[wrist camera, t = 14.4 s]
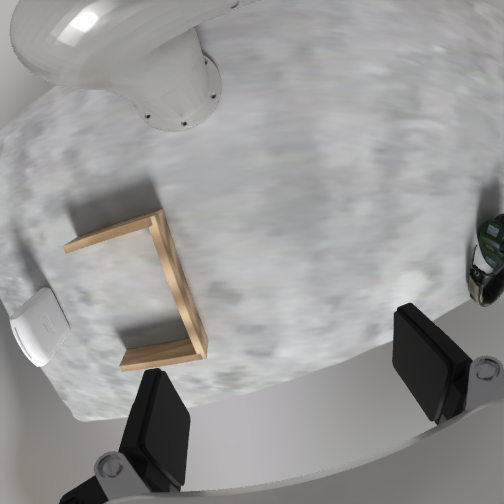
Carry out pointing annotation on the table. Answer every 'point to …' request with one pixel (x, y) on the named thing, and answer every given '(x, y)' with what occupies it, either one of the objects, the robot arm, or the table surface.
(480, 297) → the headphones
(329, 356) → the table surface
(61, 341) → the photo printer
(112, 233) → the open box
